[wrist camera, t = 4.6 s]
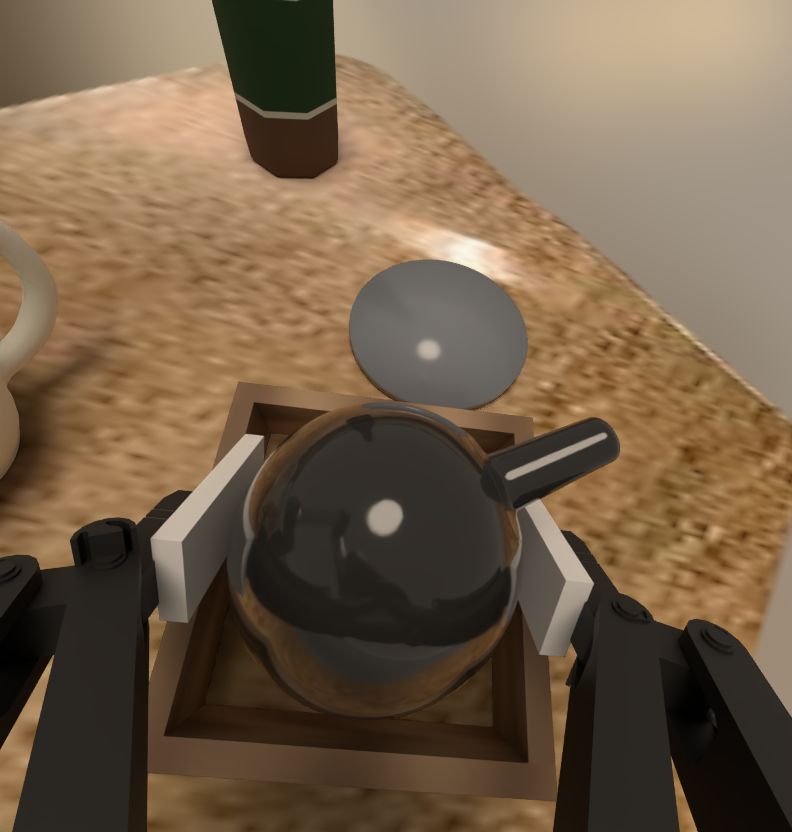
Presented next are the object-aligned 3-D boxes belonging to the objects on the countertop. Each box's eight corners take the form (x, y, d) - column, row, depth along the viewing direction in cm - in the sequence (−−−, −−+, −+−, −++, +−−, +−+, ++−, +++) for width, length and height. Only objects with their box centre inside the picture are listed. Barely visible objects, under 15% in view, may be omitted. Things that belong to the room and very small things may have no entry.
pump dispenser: (500, 624, 19) (859, 711, 6) (297, 722, 17) (51, 1290, 3) (423, 444, 23) (526, 227, 9) (246, 504, 21) (26, 332, 7)
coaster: (337, 401, 24) (336, 395, 23) (361, 257, 29) (361, 249, 28) (527, 424, 24) (532, 419, 23) (519, 279, 29) (523, 272, 28)
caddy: (173, 731, 16) (122, 771, 13) (256, 414, 23) (238, 381, 19) (515, 756, 17) (557, 801, 14) (505, 444, 24) (532, 417, 20)
